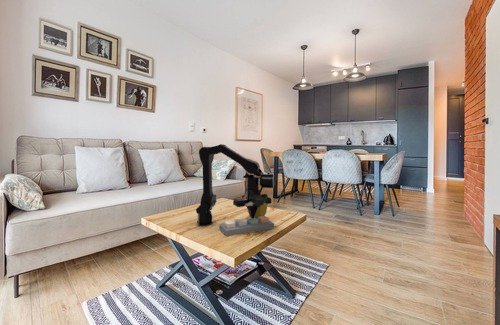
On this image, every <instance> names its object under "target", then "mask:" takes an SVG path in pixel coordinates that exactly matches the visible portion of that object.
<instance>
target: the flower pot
mask: <svg viewBox="0 0 500 325" xmlns="http://www.w3.org/2000/svg"><path fill="white" fill-rule="evenodd" d="M267 211H268V204H266V203H265V202H264V205H261V206H260V207H259V208H258V209H257V211H256V213H255V216H254V217H255V218H256V219H258V217H261V216H266V213H267ZM247 213H248V215H249V218H251V216H250V213H249V211H248V210H247Z"/></svg>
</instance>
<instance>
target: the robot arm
mask: <svg viewBox="0 0 500 325" xmlns="http://www.w3.org/2000/svg"><path fill="white" fill-rule="evenodd" d="M218 154H223V155H224V156H226V157H227V158H229V159H231V160H232V161H234V162H235V163H237V164H239V165H240V167H242V168H243V169H244V170H245V171H246V173H245V175H243V177H242V178H243V179H246V188H245V191H246V196H245V199H243V198H234V199H233V200H232V203H233V204H232V205H234V206H235V207H237V208H241V207H242V208H243V207H246V209H247V212H248V211H249V213H250V216H251V217H250V216H249V217H250V218H252V219H253V218H254V216H255V213H256V211H257V209H258V208H259V207H260V206H261V205H264V202H265V203H266V204H267V205H269V204H270V205H271V204H272V202H273V201H272V198H271V197H269V195H268V194H267V193H262V194H261V189H260V188H259V187H261V188H263V189H274V188H275V177H274V176H275V175H274V174H273V173H270V174H268V173H267V174H266V173H264V172H263V170H262V169H261V165H260V164H259V162H258V161H255V160H252V159H250V158H246V157H244V156H243V155H242V154H240V153H238V152H236V150H235V151H234V150H233V149H231V148H230V147H228V146H227V145H226V144H218V145H214V146H203V147H202V146H201V147H200V149H199V150H198V156H199V161H200V162H201V164H202V191H203V192H202V194H201V195H202V196H201V197H200V202H199V206H198V207H196V209H195V212H196V214H197V221H196V222H197V224H198V226H207V225H208V226H209V225H213V214H212V210H213V208H214V206H216V203H217V194H214V193H213V167H212V166H213V162H214V158H215V155H218ZM249 213H248V214H249Z"/></svg>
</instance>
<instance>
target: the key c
mask: <svg viewBox="0 0 500 325" xmlns="http://www.w3.org/2000/svg"><path fill="white" fill-rule="evenodd" d="M246 220H247V223H248V224H250V225H253V224H258V219H256V218H255V217H254V218H253V219H252V218H251V217H248V218H247V219H246Z"/></svg>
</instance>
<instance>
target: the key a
mask: <svg viewBox="0 0 500 325" xmlns="http://www.w3.org/2000/svg"><path fill="white" fill-rule="evenodd" d="M235 222H236V221H234V220H226V221H224V222H223V223H224V226H225V227H226V228H234V227H235Z"/></svg>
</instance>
